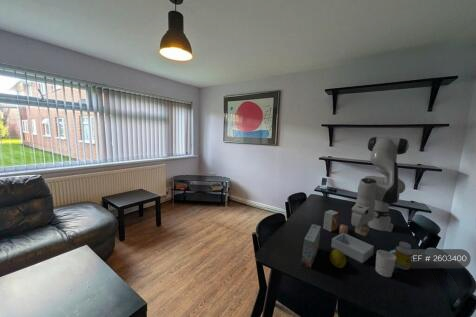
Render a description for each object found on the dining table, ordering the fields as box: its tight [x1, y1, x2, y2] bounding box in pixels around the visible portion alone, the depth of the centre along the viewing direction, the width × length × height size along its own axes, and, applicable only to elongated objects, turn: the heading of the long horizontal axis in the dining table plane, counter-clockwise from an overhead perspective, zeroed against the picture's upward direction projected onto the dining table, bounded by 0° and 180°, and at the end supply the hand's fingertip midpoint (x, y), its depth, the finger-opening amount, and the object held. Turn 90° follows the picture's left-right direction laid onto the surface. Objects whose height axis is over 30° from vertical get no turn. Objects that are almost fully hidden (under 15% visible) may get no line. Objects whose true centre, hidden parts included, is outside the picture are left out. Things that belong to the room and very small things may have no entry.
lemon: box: [329, 249, 347, 269], centre depth 102 cm, size 11×8×8 cm
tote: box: [330, 233, 375, 264], centre depth 115 cm, size 18×14×6 cm
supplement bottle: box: [394, 241, 413, 271], centre depth 103 cm, size 7×7×13 cm
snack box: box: [301, 223, 322, 269], centre depth 108 cm, size 21×6×15 cm, turn 148°
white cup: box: [374, 249, 396, 278], centre depth 97 cm, size 8×8×10 cm
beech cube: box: [354, 224, 370, 237], centre depth 110 cm, size 5×5×5 cm
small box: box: [322, 209, 339, 233], centre depth 141 cm, size 8×6×13 cm
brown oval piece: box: [338, 223, 349, 235], centre depth 133 cm, size 5×5×7 cm
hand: (361, 230), depth 110 cm, fingers closed on beech cube, 5 cm apart
